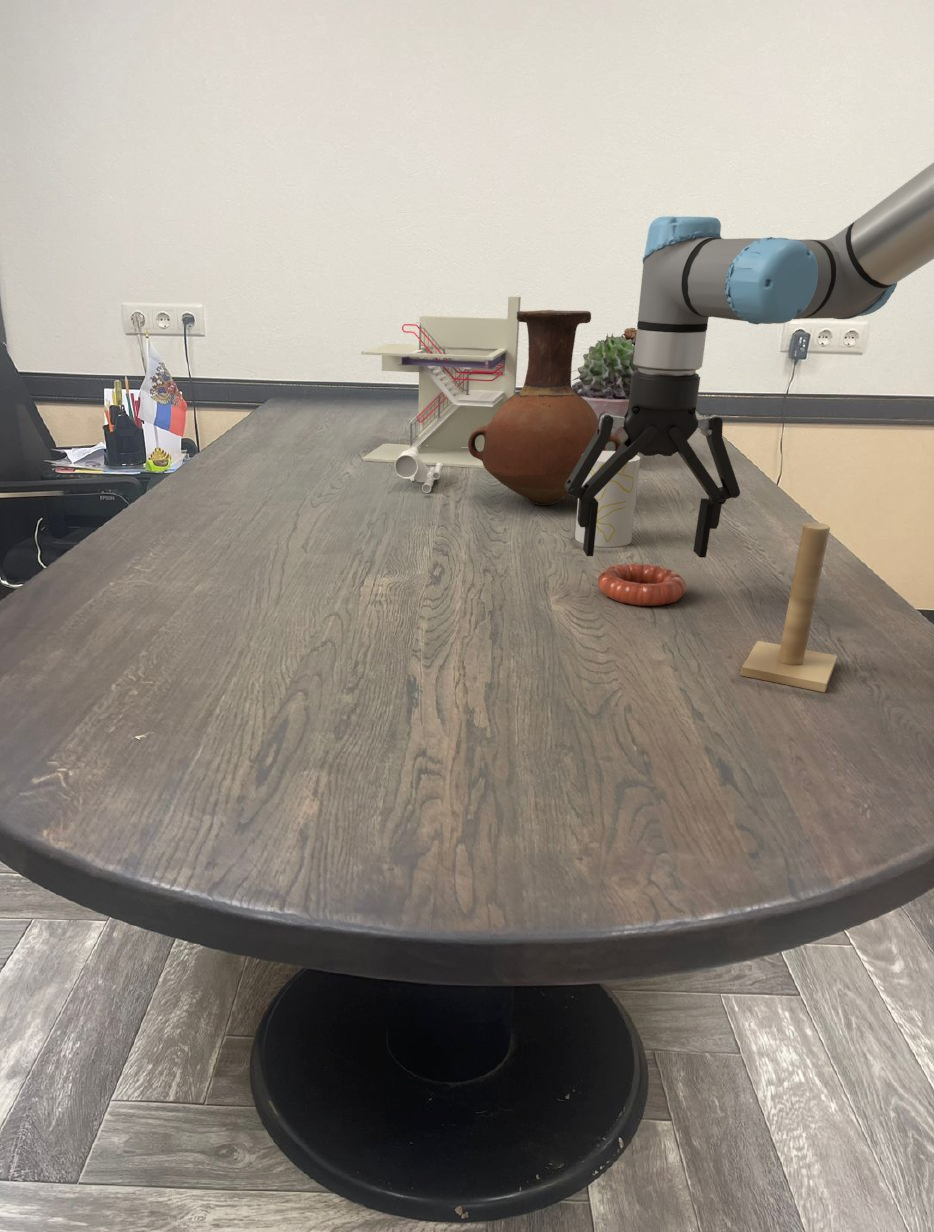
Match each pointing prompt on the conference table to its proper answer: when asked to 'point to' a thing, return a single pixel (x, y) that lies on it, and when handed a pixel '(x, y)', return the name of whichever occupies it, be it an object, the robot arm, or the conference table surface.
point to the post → (797, 625)
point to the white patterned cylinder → (614, 505)
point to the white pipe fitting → (416, 469)
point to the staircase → (454, 383)
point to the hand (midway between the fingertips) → (643, 553)
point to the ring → (641, 584)
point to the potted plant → (608, 377)
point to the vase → (541, 415)
